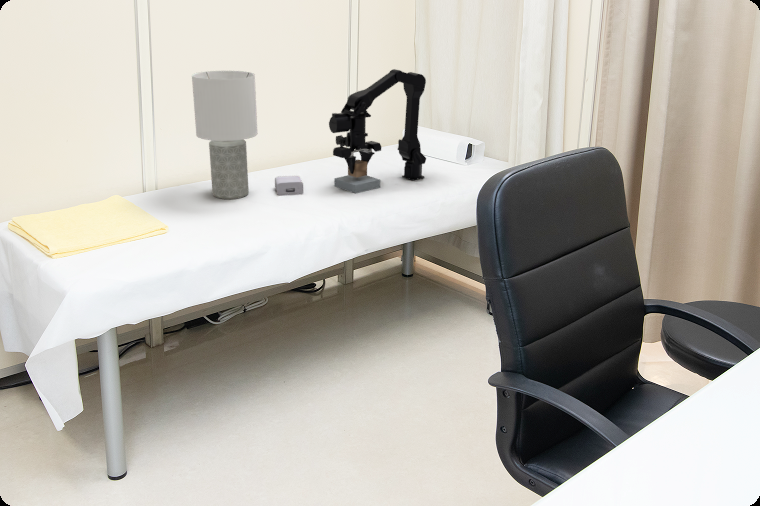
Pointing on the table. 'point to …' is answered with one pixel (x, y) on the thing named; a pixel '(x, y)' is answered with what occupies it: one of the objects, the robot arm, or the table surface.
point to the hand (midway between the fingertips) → (357, 172)
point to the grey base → (357, 183)
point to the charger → (288, 185)
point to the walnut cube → (359, 169)
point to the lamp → (226, 126)
